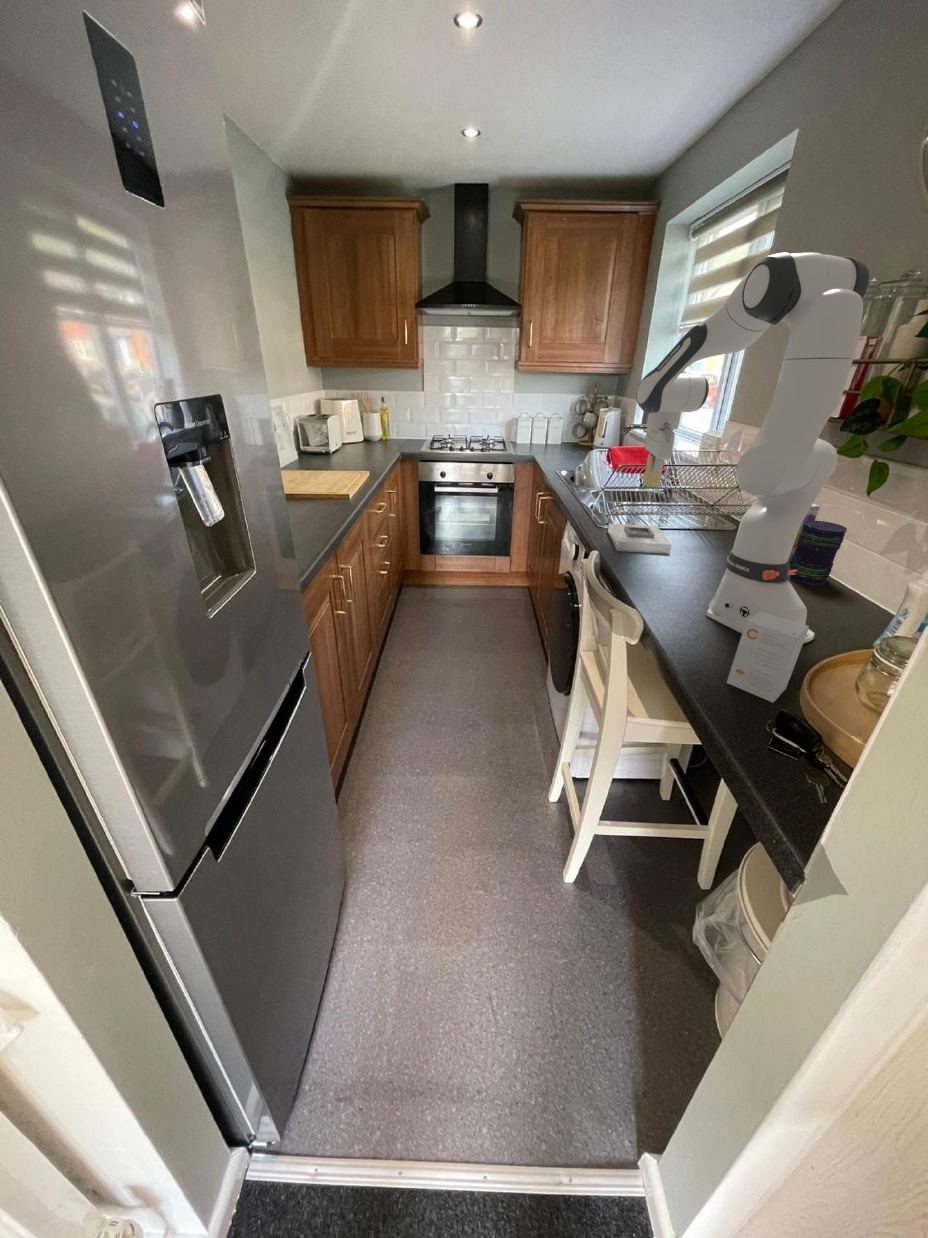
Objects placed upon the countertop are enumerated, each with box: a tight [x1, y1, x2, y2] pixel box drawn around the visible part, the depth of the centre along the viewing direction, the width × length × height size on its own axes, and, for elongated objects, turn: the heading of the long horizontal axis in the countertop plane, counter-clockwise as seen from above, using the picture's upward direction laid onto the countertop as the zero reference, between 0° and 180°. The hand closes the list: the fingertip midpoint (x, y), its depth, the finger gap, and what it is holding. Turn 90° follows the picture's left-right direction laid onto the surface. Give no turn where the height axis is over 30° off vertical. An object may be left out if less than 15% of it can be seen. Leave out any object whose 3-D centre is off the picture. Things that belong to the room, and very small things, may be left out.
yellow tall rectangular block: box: [642, 453, 665, 488], centre depth 151 cm, size 4×4×9 cm
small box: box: [726, 611, 810, 704], centre depth 86 cm, size 8×6×13 cm
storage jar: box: [789, 520, 848, 586], centre depth 134 cm, size 10×10×15 cm
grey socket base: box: [607, 523, 673, 555], centre depth 161 cm, size 20×16×4 cm
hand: (653, 469), depth 151 cm, fingers closed on yellow tall rectangular block, 4 cm apart
